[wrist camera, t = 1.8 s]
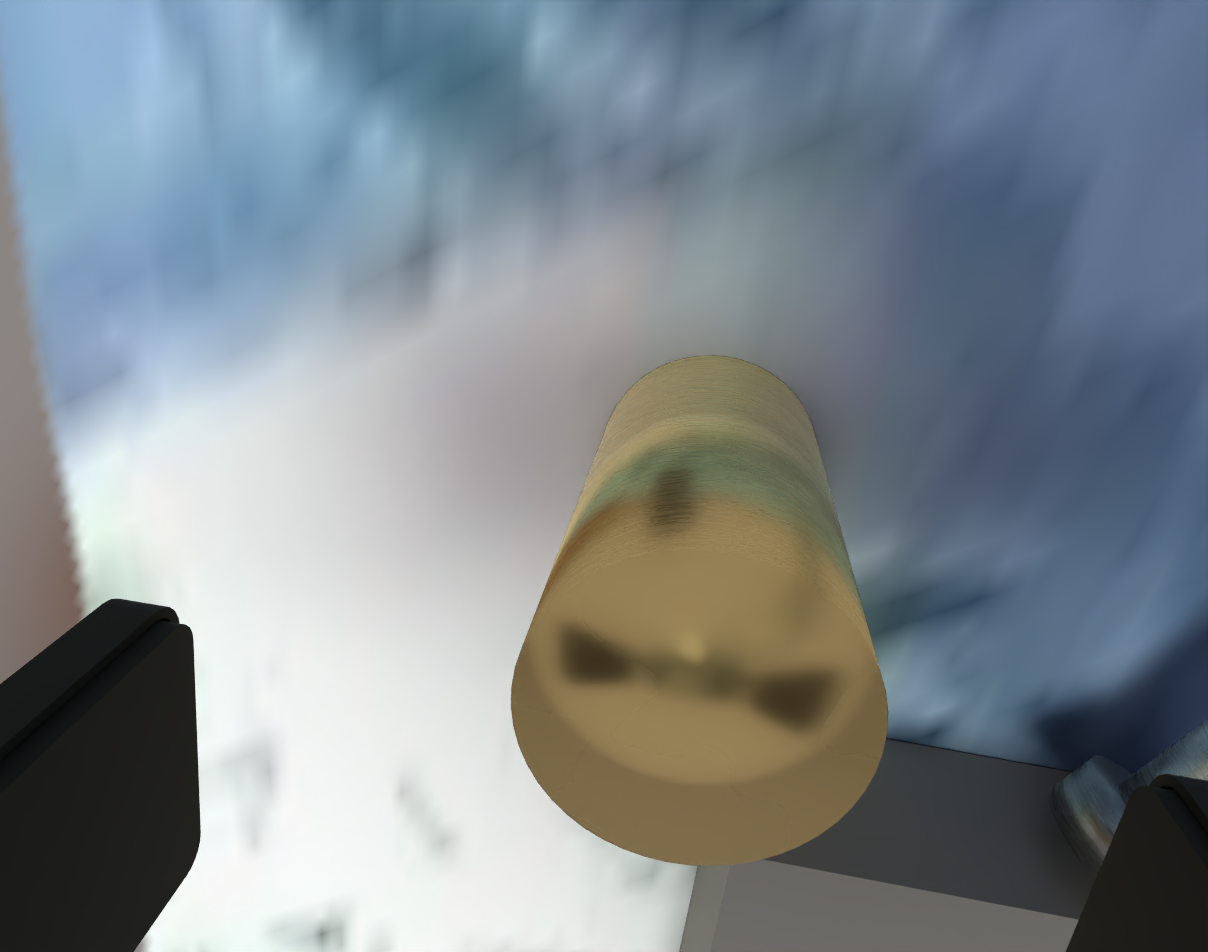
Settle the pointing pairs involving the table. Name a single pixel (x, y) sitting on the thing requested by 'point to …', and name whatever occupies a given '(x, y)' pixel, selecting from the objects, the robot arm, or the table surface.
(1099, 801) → the shaft
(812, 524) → the yellow cylinder
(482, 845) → the table surface
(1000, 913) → the grey square frame
